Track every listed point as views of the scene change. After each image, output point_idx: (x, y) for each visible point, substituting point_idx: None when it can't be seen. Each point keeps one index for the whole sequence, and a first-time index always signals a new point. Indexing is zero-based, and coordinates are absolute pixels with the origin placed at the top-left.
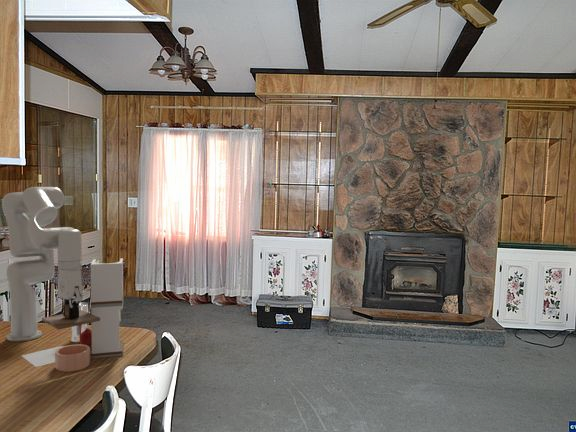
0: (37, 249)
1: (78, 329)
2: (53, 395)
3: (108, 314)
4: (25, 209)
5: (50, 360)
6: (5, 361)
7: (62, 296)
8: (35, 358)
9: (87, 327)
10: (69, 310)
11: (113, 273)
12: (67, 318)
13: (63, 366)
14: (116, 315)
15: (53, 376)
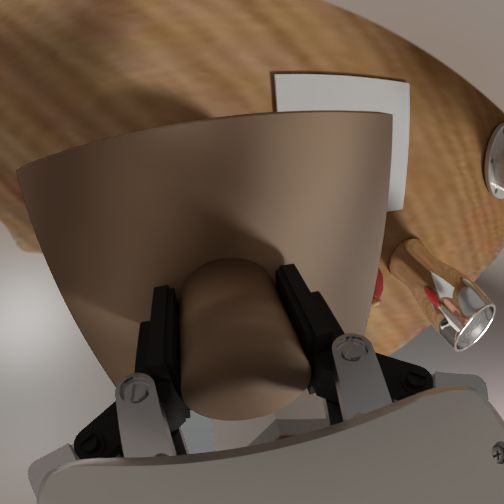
0: None
1: (417, 275)
2: (10, 97)
3: (229, 423)
4: None
5: None
6: (397, 36)
7: (266, 471)
8: (359, 102)
9: (375, 305)
10: (148, 345)
11: None
12: (194, 275)
13: None
14: (217, 431)
15: (148, 106)
